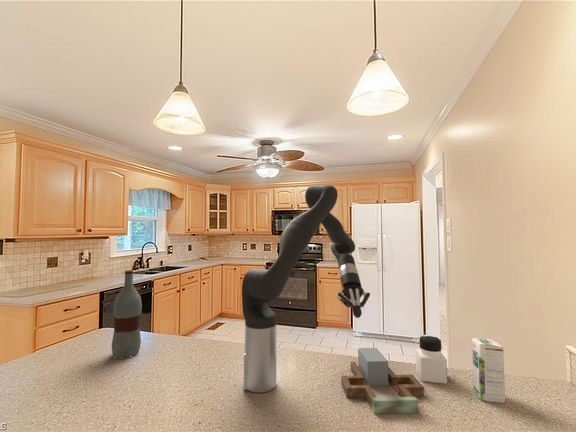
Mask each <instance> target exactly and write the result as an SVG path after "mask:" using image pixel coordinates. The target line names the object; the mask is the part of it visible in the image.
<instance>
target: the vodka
mask: <svg viewBox="0 0 576 432" xmlns="http://www.w3.org/2000/svg"><path fill="white" fill-rule="evenodd" d="M133 279H134V270H131V269H130V270H125V271H124V284H123V285H124V286H123V287H122V289H120V291H119V293H118V294H117V295H116V297H115V300H114V301H113V307H112V313H113V336H112V341H111V352H112V357H113V358H114V357H115V358H114V359H116V358H125V359H128V358H127V357H130V356H133V357H134V355H135V356H137V355H138V354H139V352H140V350H141V343H142V339H141V337H142V336H141V331H140V325H141V319H142V318H141V317H142V309H143V303H142V298H141V297H142V296H141V295H140V294H139V292H138V291H137V289H136V288H135V286H134V283H133V282H134V280H133ZM137 353H138V354H137ZM136 354H137V355H136ZM130 358H131V357H130Z"/></svg>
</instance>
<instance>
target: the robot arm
mask: <svg viewBox="0 0 576 432" xmlns="http://www.w3.org/2000/svg"><path fill="white" fill-rule="evenodd" d="M304 195H305V196H304V198H305V202H306V203H305V204H306V205H307V206H308V208H309V209H308V210H307V211H305V212H303V213H301V214H299V215H297V216H296V217H294V218H293V219H292V220H291V221H290V222H289V223H288V224H287V226H286V227H285V228H284V230H283V232H282V233H281V235H280V238H279V250H278V251H279V252H278V256H277V258H276V259H275V261H274V263H273V264H271V266H270V267H269V268H268V269H266V268H257V267H256V268H255V267H254V268H250V269H248V270H247V271H246V272H245V273H244V275H243V278H242V283H241V309H242V310H241V311H242V315H243V318H244V354H243V390H244V391H248V392H252V393H259V394H260V393H267V392H270V391H272V390H274V389H275V388H276V387H277V341H278V340H277V336H278V335H277V331H278V330H277V329H278V328H277V327H278V325H277V323H278V322H277V318H278V317H277V314H276V313H275V311H274V310H272V309H271V308H270V307H269V305H268V303H273V302H275V301H276V300H277V299H278V298H279V297H280V296H281V294H282V293H283V291H284V288H285V286H286V284H287V283H288V280H289V278H290V276H291V274H292V272H293V270H294V268H295V267H296V264H297V263H298V261H299V259H300V258H301V256H302V254H303V252H304V251H305V250H306V248H307V247H308V245H309V243H310V242H311V240H312V238H313V237H314V235H315V233H316V232H317V231H318V229H319V227H320V225H322V226H323V228H324V230H325V231H326V233H327V235H328V237H329V240H330V241H331V242H332V243H331V245H330V250H331V252H332V254H333V256H334V257H335V259H336V262H337V264H338V265H337V266H338V271H339V273H338V274H339V279H340V285H341V291H340V292H338V293H337V296H336V298H337V300H338V301H340V302H341V303H342V304H343V305H344V306H345V307H346V308H350V309H351V312H352V315H353V317H355V318H356V319H359V318H361V316H362V308H364V306H365V305H366V303H367V301H368V300H369V298H370V296H371V293H370V292H366V291H364V288H363V286H362V284H361V278H360V275H359V271H358V268H357V267H356V261H355V259H354V257H353V255H352V253H354V252H355V250H356V244H355V242H354V240H353V238H351V237H350V235H348V233H346V230H345V229H344V227H343V224H342V223H341V221H340V220H339V219H338V217H336V216H335V215H333V214H332V213H331V211H333V209H334V208H335V206H336V203H337V200H338V195H339V194H338V190H337V188H336V187H335V186H334V185H329V184H313V185H310V186H308V187H307V188H306V190H305V194H304ZM362 297H363V299H362V300H361V298H362ZM360 300H361V301H360Z"/></svg>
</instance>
